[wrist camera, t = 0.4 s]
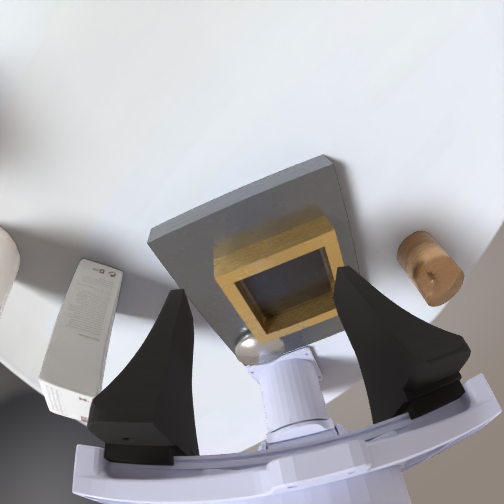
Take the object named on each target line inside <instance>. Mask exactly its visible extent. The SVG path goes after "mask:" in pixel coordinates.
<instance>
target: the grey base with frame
mask: <svg viewBox="0 0 504 504" xmlns="http://www.w3.org/2000/svg"><path fill="white" fill-rule="evenodd" d="M147 244H148V245H149V247H150V248H151V249H152V251H153V252H154V253H155V255H156V256H157V258H158V259H159V260H160V262H161V263H162V264H163V266H164V267H165V268H166V270H167V271H168V272H169V274H170V275H171V276H172V278H173V279H174V280H175V282H176V283H177V284H178V285H179V287H180V288H181V289H184V291H185V294H186V296H187V297H188V298H189V300H190V301H191V302H192V303H193V305H194V306H195V307H196V308H197V310H198V311H199V312H200V313H201V315H202V316H203V317H204V318H205V319H206V321H207V322H208V323H209V324H210V326H211V327H212V328H213V329H214V330H215V332H216V333H217V334H218V335H219V336H220V338H221V339H222V340H223V341H224V342H225V343H226V345H227V346H228V347H229V348H230V349H231V351H232V352H233V353H234V354H235V355H236V357H237V359H238V360H239V361H240V362H242V363H243V364H244V365H245V366H247V365H264V364H268V363H271V362H273V361H275V360H277V359H278V358H280V357H281V356H282V354H283V353H286V352H289V351H292V350H295V349H297V348H300V347H303V346H306V345H308V344H311V343H314V342H316V341H319V340H321V339H324V338H327V337H329V336H332V335H334V334H337V333H339V332H342V331H344V330H345V329H344V327H343V325H342V323H341V321H340V318H339V316H338V313H337V310H336V307H335V303H334V300H333V294H334V287H335V280H336V273H337V267H343V266H350V267H351V268H352V269H354V270H355V271H356V272H357V273H358V274H359V275H360V273H359V268H358V263H357V258H356V253H355V248H354V244H353V239H352V235H351V230H350V226H349V222H348V218H347V214H346V210H345V206H344V202H343V198H342V194H341V190H340V186H339V183H338V179H337V175H336V172H335V168H334V165H333V163H332V162H331V161H330V160H329V159H328V158H326V157H325V156H324V155H321V156H318V157H315V158H313V159H310V160H308V161H305V162H302V163H300V164H297V165H295V166H292V167H290V168H287V169H285V170H282V171H280V172H277V173H275V174H272V175H270V176H267V177H265V178H263V179H260V180H258V181H255V182H253V183H251V184H248V185H246V186H244V187H241V188H239V189H237V190H234V191H232V192H230V193H227V194H225V195H223V196H221V197H218V198H216V199H214V200H212V201H209V202H207V203H205V204H203V205H200V206H198V207H196V208H194V209H192V210H190V211H187V212H185V213H183V214H181V215H179V216H177V217H175V218H173V219H170V220H168V221H166V222H164V223H162V224H160V225H158V226H156V227H154V228H152V229H151V232H150V235H149V238H148V242H147Z"/></svg>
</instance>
